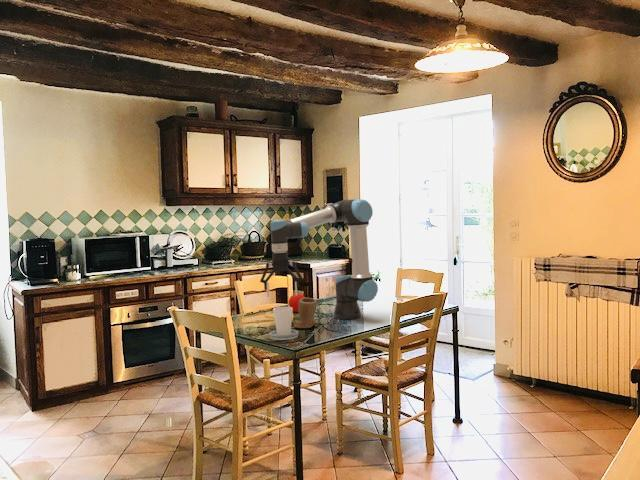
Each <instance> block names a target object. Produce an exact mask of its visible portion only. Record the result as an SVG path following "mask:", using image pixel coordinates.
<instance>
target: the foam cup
mask: <svg viewBox="0 0 640 480" xmlns="http://www.w3.org/2000/svg"><path fill="white" fill-rule="evenodd" d="M293 313H294V311H293V308H292V307H289V306H277V307H274V308H272V314H273V317H274V318H273V319H274V323H275V329H276V331H277V335H278V336H284V335H290V334H291V329H292V320H293Z"/></svg>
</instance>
